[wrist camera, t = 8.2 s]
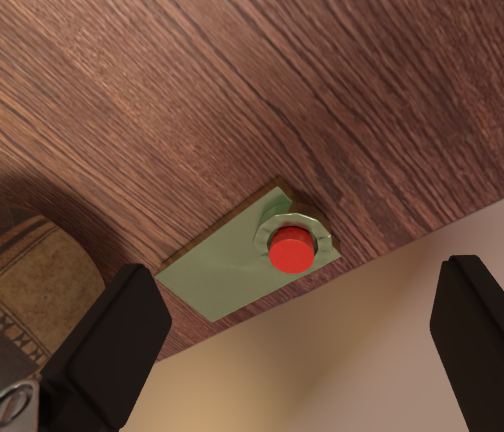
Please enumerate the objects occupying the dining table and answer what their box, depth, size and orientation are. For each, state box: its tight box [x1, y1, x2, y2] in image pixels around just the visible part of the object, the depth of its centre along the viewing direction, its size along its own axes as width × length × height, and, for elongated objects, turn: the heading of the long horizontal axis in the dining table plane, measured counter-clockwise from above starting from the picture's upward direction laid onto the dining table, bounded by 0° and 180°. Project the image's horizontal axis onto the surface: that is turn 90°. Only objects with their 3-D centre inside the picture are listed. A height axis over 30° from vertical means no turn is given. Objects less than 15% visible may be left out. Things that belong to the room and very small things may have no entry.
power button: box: [269, 227, 314, 274], centre depth 24 cm, size 4×4×2 cm
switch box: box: [154, 175, 342, 323], centre depth 29 cm, size 19×9×4 cm, turn 133°
